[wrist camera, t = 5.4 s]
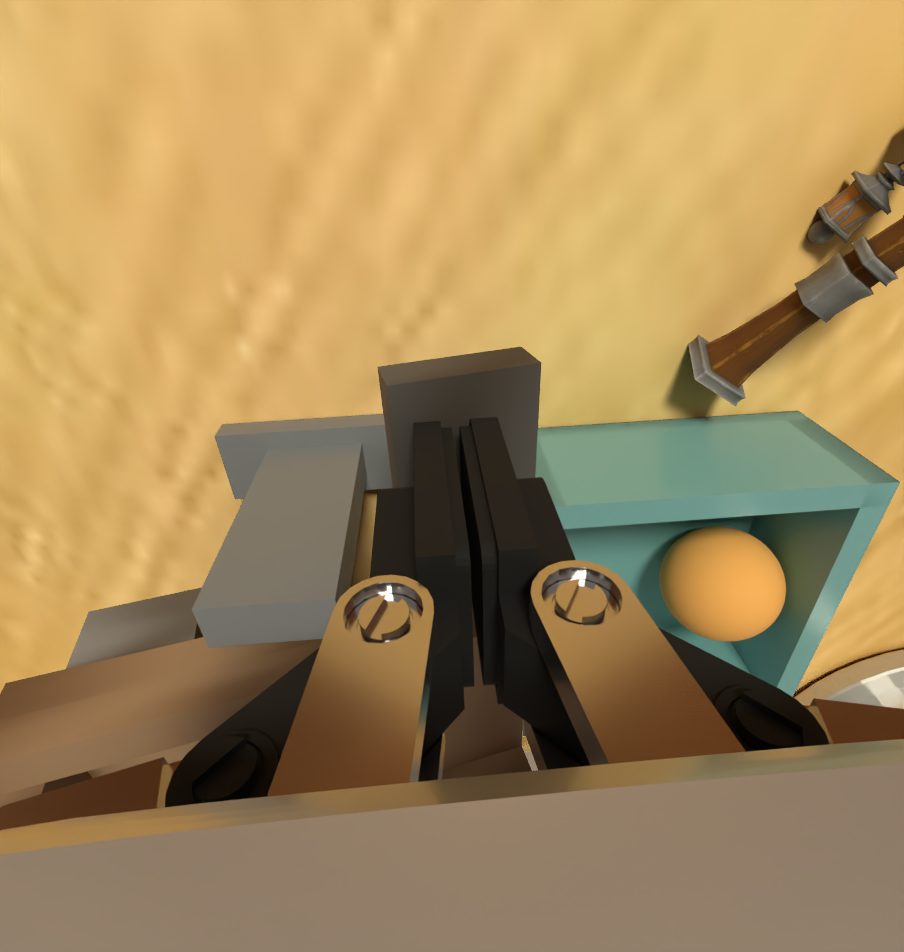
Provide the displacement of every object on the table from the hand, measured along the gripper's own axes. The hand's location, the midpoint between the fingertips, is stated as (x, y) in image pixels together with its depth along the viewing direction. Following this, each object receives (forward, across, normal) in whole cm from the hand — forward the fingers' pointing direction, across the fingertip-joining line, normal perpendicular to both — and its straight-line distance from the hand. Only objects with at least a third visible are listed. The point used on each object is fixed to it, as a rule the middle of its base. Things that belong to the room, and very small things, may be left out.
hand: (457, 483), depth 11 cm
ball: (+4, -9, +8) cm, 13 cm away
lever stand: (+7, +4, +8) cm, 11 cm away
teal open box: (+7, -7, +8) cm, 12 cm away
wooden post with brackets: (+7, -10, -2) cm, 13 cm away
